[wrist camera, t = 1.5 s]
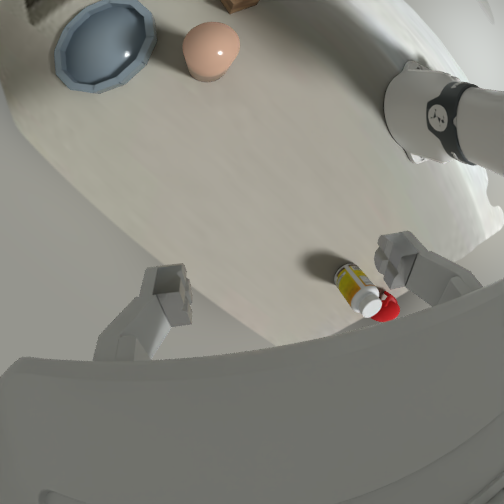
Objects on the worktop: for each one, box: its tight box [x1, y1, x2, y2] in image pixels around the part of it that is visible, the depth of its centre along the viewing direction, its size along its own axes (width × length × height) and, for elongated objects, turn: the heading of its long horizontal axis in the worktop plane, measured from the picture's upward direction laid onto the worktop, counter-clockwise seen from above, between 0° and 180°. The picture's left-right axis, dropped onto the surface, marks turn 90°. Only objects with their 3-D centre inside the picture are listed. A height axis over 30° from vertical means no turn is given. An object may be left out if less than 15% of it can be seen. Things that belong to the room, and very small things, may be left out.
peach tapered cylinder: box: [183, 22, 240, 82], centre depth 23 cm, size 5×5×11 cm
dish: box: [54, 0, 157, 94], centre depth 22 cm, size 14×14×2 cm
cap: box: [371, 291, 400, 322], centre depth 53 cm, size 8×6×6 cm
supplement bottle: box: [334, 264, 382, 318], centre depth 45 cm, size 6×6×10 cm
